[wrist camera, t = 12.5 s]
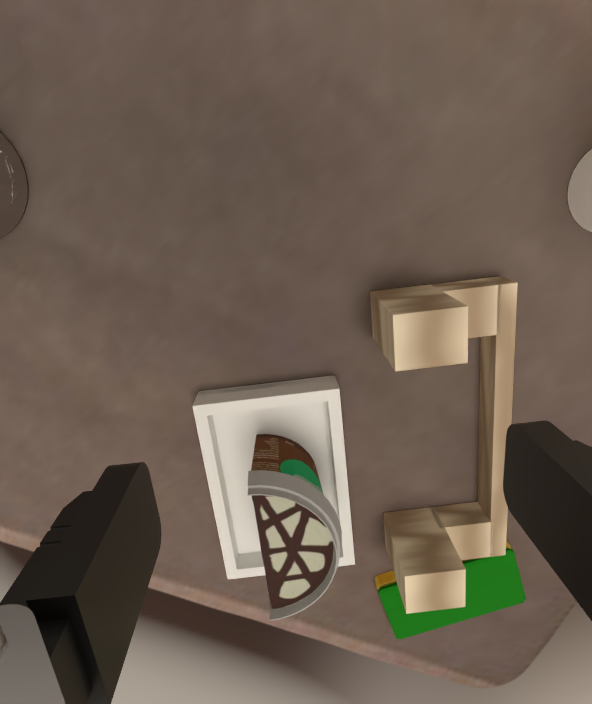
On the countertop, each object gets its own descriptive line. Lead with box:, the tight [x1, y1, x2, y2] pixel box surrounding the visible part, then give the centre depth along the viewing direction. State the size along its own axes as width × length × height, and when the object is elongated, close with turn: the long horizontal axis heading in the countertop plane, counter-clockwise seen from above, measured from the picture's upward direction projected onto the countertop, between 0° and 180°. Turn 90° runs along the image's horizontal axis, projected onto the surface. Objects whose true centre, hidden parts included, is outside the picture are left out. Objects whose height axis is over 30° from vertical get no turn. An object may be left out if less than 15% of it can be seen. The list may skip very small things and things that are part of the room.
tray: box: [193, 375, 355, 579], centre depth 42 cm, size 12×18×3 cm, turn 6°
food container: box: [248, 434, 342, 621], centre depth 37 cm, size 12×6×10 cm, turn 7°
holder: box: [370, 276, 517, 614], centre depth 38 cm, size 11×26×8 cm, turn 6°
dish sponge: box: [375, 541, 526, 639], centre depth 47 cm, size 7×14×2 cm, turn 110°
